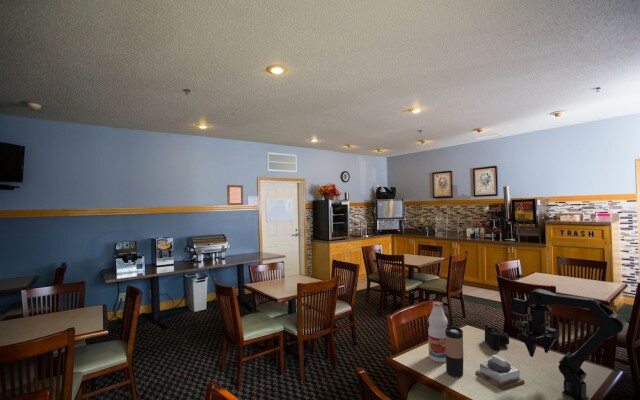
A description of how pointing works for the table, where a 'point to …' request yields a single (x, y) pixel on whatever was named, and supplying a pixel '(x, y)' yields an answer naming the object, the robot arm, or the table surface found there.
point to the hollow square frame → (500, 374)
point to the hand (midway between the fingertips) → (538, 354)
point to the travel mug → (454, 351)
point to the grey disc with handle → (499, 364)
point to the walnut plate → (503, 386)
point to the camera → (495, 337)
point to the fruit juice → (437, 333)
